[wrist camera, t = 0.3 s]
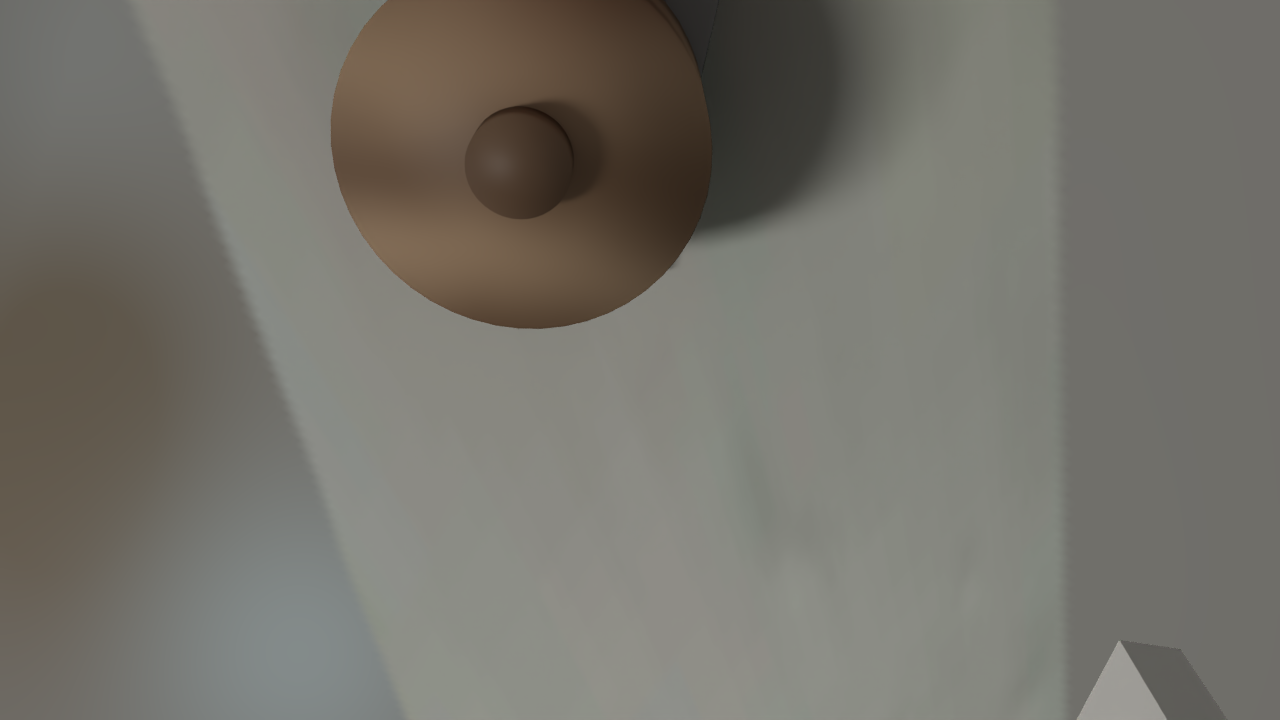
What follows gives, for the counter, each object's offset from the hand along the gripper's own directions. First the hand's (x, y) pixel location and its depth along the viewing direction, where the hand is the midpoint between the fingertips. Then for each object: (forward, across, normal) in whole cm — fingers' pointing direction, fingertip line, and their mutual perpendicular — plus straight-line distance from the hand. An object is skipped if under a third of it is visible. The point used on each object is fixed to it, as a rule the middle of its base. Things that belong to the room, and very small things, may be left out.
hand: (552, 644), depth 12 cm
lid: (+24, -2, 0) cm, 25 cm away
